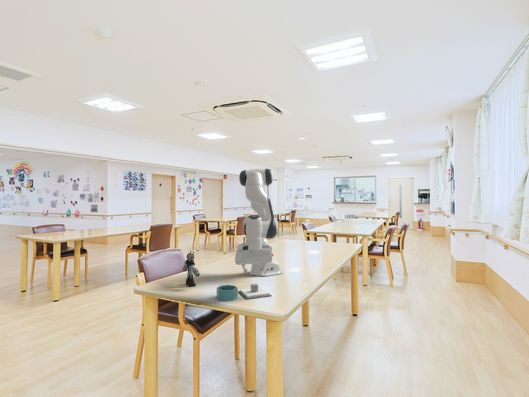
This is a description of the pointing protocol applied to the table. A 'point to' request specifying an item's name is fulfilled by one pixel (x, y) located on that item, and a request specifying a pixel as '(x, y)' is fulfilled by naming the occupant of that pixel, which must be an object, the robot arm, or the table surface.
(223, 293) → the bowl
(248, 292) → the cover sheet
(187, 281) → the robot
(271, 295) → the mat
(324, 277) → the table surface
